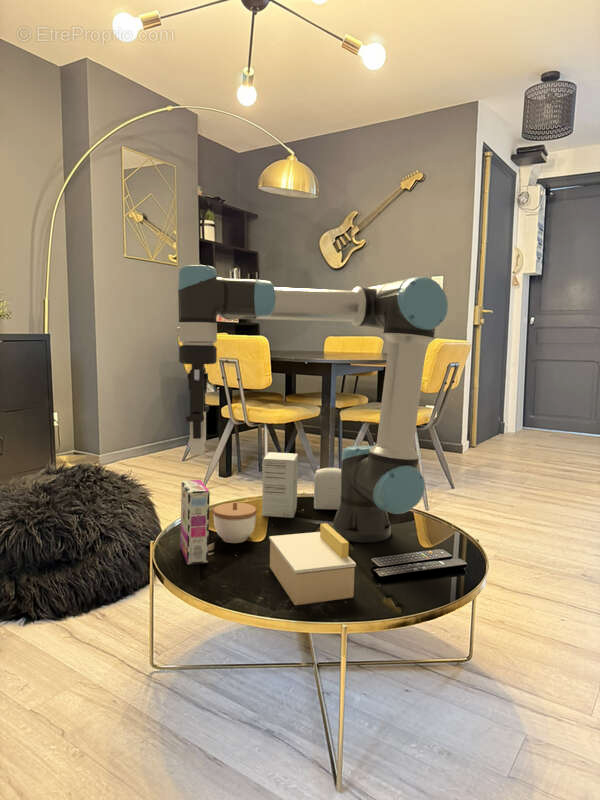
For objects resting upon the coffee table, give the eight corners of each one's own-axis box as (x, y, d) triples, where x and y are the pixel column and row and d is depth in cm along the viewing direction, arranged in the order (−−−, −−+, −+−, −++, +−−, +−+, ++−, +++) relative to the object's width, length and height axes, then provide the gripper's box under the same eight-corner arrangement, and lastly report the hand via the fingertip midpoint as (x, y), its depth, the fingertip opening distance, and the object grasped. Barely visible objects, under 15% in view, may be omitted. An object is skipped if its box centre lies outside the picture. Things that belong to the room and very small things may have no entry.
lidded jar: (217, 548, 127) (217, 510, 126) (209, 533, 137) (210, 497, 136) (260, 544, 130) (261, 506, 129) (250, 529, 140) (250, 495, 140)
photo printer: (313, 509, 159) (314, 469, 158) (313, 505, 163) (314, 466, 162) (348, 511, 159) (349, 470, 158) (347, 506, 163) (348, 467, 162)
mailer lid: (322, 534, 120) (322, 518, 120) (355, 566, 103) (356, 548, 103) (269, 539, 116) (269, 523, 116) (294, 573, 99) (295, 554, 99)
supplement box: (266, 506, 161) (267, 451, 160) (297, 508, 160) (298, 453, 159) (261, 516, 152) (262, 458, 150) (293, 518, 151) (294, 459, 149)
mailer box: (320, 561, 121) (321, 535, 120) (353, 597, 104) (354, 567, 103) (269, 567, 117) (270, 540, 116) (294, 605, 100) (295, 574, 99)
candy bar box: (209, 563, 118) (210, 491, 117) (187, 565, 117) (187, 492, 115) (200, 545, 129) (201, 478, 127) (179, 547, 127) (180, 480, 125)
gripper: (182, 344, 119) (183, 437, 122) (173, 344, 95) (175, 461, 97) (216, 344, 120) (217, 437, 123) (216, 344, 96) (216, 460, 98)
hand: (198, 448), depth 110 cm, fingers open, 13 cm apart
